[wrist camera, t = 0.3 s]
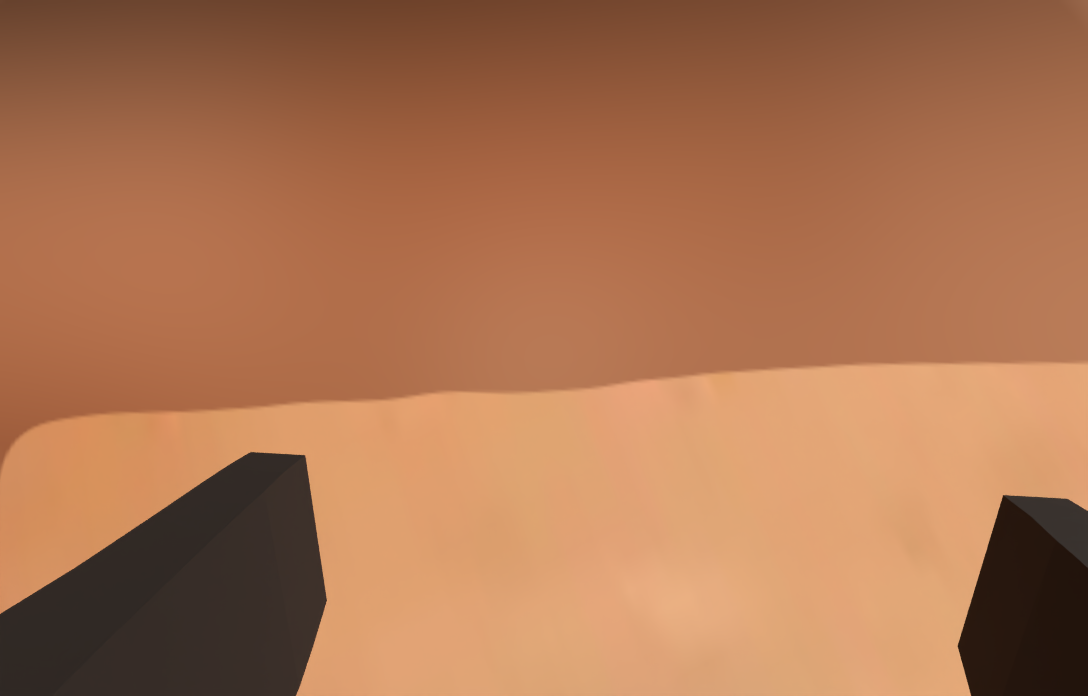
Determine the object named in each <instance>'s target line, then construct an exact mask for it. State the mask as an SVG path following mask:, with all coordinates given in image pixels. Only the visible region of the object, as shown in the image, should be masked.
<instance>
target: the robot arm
mask: <svg viewBox="0 0 1088 696" xmlns="http://www.w3.org/2000/svg"><path fill="white" fill-rule="evenodd" d="M326 602H327V599H326V592H325V586H324V579H323V572H322V565H321V559H320V552H319V545H318V538H317V532H316V525H315V518H314V511H313V505H312V498H311V491H310V484H309V478H308V471H307V464H306V458H305V455H291V454H273V453H256V452H250V453H248V454H247V455H245V456H243V457H242V458H240V459H238V460H237V461H235V462H233V463H232V464H230V465H228V466H227V467H225V468H224V469H222V470H221V471H219V472H218V473H216V474H215V475H213V476H211V477H210V478H208V479H207V480H205V481H204V482H202V483H201V484H199V485H198V486H196V487H195V488H194V489H192V490H191V491H189V492H188V493H186V494H185V495H183V496H182V497H180V498H179V499H177V500H176V501H174V502H173V503H171V504H170V505H168V506H167V507H166V508H164V509H163V510H161V511H160V512H158V513H157V514H155V515H154V516H152V517H151V518H149V519H148V520H146V521H145V522H143V523H142V524H140V525H139V526H137V527H136V528H134V529H133V530H131V531H130V532H128V533H127V534H125V535H124V536H122V537H121V538H119V539H118V540H116V541H115V542H113V543H112V544H110V545H109V546H107V547H106V548H104V549H103V550H101V551H100V552H98V553H97V554H95V555H94V556H92V557H91V558H89V559H88V560H86V561H85V562H83V563H82V564H80V565H79V566H77V567H76V568H74V569H72V570H71V571H69V572H68V573H66V574H64V575H63V576H61V577H59V578H58V579H56V580H55V581H53V582H51V583H50V584H48V585H46V586H45V587H43V588H42V589H40V590H38V591H37V592H35V593H33V594H32V595H30V596H29V597H27V598H25V599H24V600H22V601H21V602H19V603H17V604H16V605H14V606H12V607H11V608H9V609H8V610H6V611H4V612H3V613H1V614H0V696H296V694H297V691H298V689H299V687H300V684H301V681H302V678H303V675H304V672H305V669H306V666H307V663H308V660H309V657H310V654H311V651H312V648H313V644H314V641H315V638H316V634H317V631H318V628H319V625H320V621H321V618H322V615H323V611H324V608H325V605H326ZM958 649H959V652H960V656H961V660H962V663H963V667H964V671H965V674H966V678H967V682H968V685H969V689H970V693H971V696H1088V511H1087V510H1085V509H1083V508H1082V507H1080V506H1078V505H1077V504H1075V503H1073V502H1072V501H1070V500H1068V499H1061V498H1043V497H1026V496H1008V495H1003V498H1002V501H1001V504H1000V508H999V511H998V514H997V518H996V521H995V524H994V528H993V531H992V534H991V538H990V541H989V544H988V547H987V551H986V554H985V557H984V561H983V564H982V567H981V571H980V574H979V577H978V581H977V584H976V587H975V590H974V594H973V597H972V600H971V604H970V607H969V610H968V614H967V617H966V620H965V624H964V627H963V630H962V633H961V637H960V640H959V643H958Z"/></svg>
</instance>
